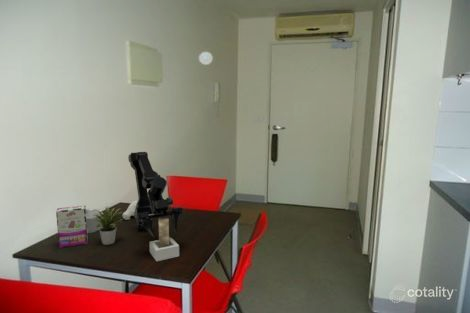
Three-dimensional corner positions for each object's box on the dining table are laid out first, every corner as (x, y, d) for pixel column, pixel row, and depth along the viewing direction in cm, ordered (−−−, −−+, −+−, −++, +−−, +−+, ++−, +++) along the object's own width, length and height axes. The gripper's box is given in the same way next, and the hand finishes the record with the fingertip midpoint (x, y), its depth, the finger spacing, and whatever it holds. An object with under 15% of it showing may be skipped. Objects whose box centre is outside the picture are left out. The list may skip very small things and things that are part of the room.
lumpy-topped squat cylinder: (89, 233, 150) (88, 216, 149) (71, 228, 156) (70, 211, 155) (107, 226, 159) (106, 210, 158) (89, 222, 165) (88, 206, 164)
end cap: (149, 252, 132) (149, 241, 132) (171, 247, 137) (171, 237, 136) (156, 261, 124) (156, 250, 124) (179, 256, 129) (179, 245, 128)
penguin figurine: (143, 200, 175) (126, 208, 165) (144, 214, 177) (128, 223, 167) (135, 198, 178) (118, 206, 168) (136, 212, 180) (119, 221, 170)
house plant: (108, 252, 131) (106, 214, 129) (82, 247, 136) (80, 210, 133) (131, 239, 144) (130, 205, 142) (106, 235, 149) (105, 201, 147)
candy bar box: (87, 240, 143) (86, 204, 141) (87, 244, 139) (85, 208, 136) (59, 243, 139) (57, 207, 136) (58, 248, 134) (55, 211, 132)
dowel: (158, 253, 129) (157, 220, 127) (160, 249, 133) (159, 217, 131) (168, 253, 129) (167, 220, 127) (170, 249, 133) (169, 217, 131)
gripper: (137, 193, 126) (145, 229, 118) (181, 188, 135) (192, 221, 127) (133, 207, 134) (140, 241, 126) (175, 201, 143) (184, 233, 135)
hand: (165, 234), depth 128 cm, fingers open, 9 cm apart
